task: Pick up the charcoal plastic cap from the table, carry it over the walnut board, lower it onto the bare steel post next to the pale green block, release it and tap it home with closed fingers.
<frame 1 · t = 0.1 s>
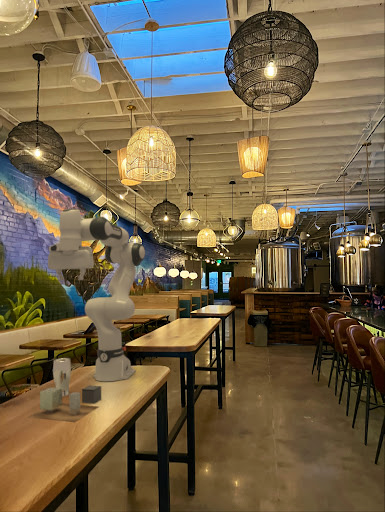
hand: (70, 280, 152), 48 cm above the table, tool pointing down, fingers open, 8 cm apart
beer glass: (62, 397, 151), on the table
steel post: (74, 413, 128), resting on walnut board
charcoal cap: (91, 403, 142), on the table
walnut board: (64, 414, 131), on the table
pale green block: (51, 411, 132), resting on walnut board
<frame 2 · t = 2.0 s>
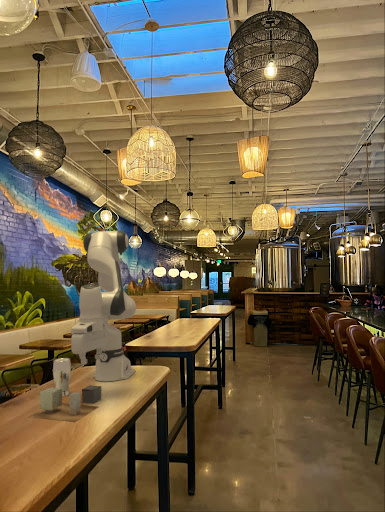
hand: (91, 361, 143), 16 cm above the table, tool pointing down, fingers open, 8 cm apart
nothing on the table moved.
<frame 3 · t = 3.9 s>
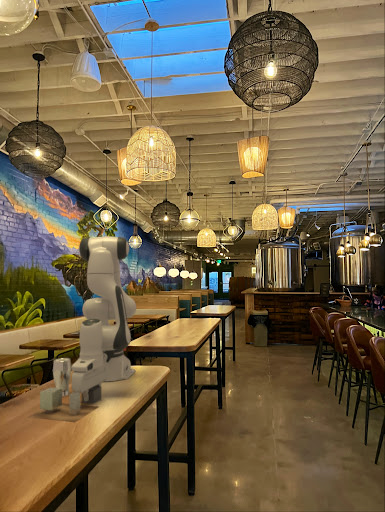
hand: (91, 397, 142), 2 cm above the table, tool pointing down, fingers closed on charcoal cap, 5 cm apart
charcoal cap: (91, 403, 142), on the table, touching gripper
everything else where it was.
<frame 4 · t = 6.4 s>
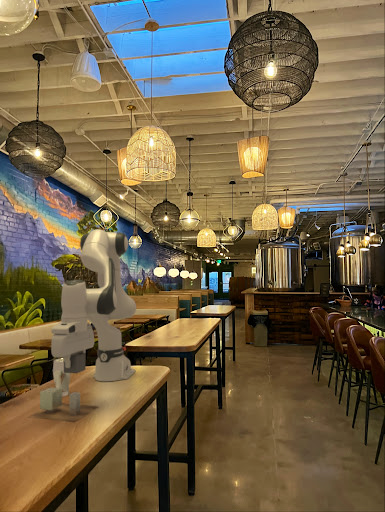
hand: (74, 365, 129), 18 cm above the table, tool pointing down, fingers closed on charcoal cap, 5 cm apart
charcoal cap: (74, 371, 129), point 16 cm above the table, touching gripper
everything else where it was.
when the fingers open (6 cm above the table, at t = 8.9 s): charcoal cap stays where it is, resting on steel post.
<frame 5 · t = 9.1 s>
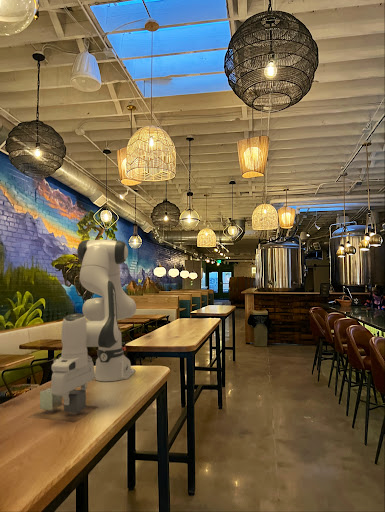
hand: (74, 400, 129), 6 cm above the table, tool pointing down, fingers open, 7 cm apart
charcoal cap: (75, 409, 129), point 2 cm above the table, touching steel post
everything else where it was.
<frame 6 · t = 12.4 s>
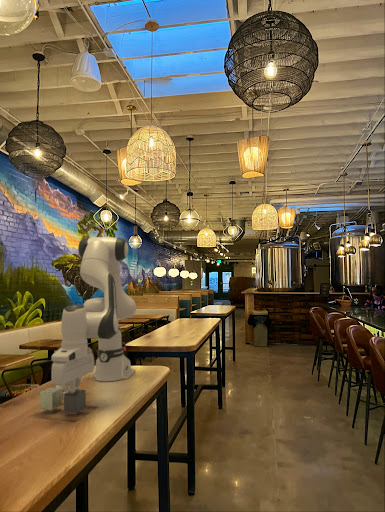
hand: (74, 391, 129), 9 cm above the table, tool pointing down, fingers closed
nothing on the table moved.
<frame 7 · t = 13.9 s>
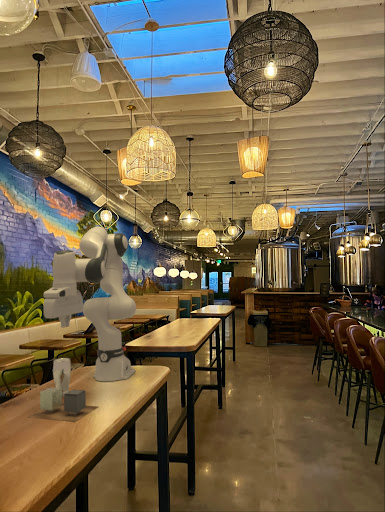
hand: (65, 327, 143), 30 cm above the table, tool pointing down, fingers closed
nothing on the table moved.
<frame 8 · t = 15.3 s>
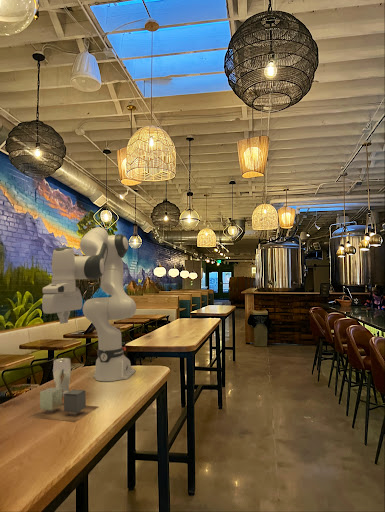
hand: (63, 323, 143), 31 cm above the table, tool pointing down, fingers closed
nothing on the table moved.
at the end: charcoal cap 0.0 cm from the steel post (horizontally); charcoal cap point 2.5 cm above the table; charcoal cap tilted 0° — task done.
